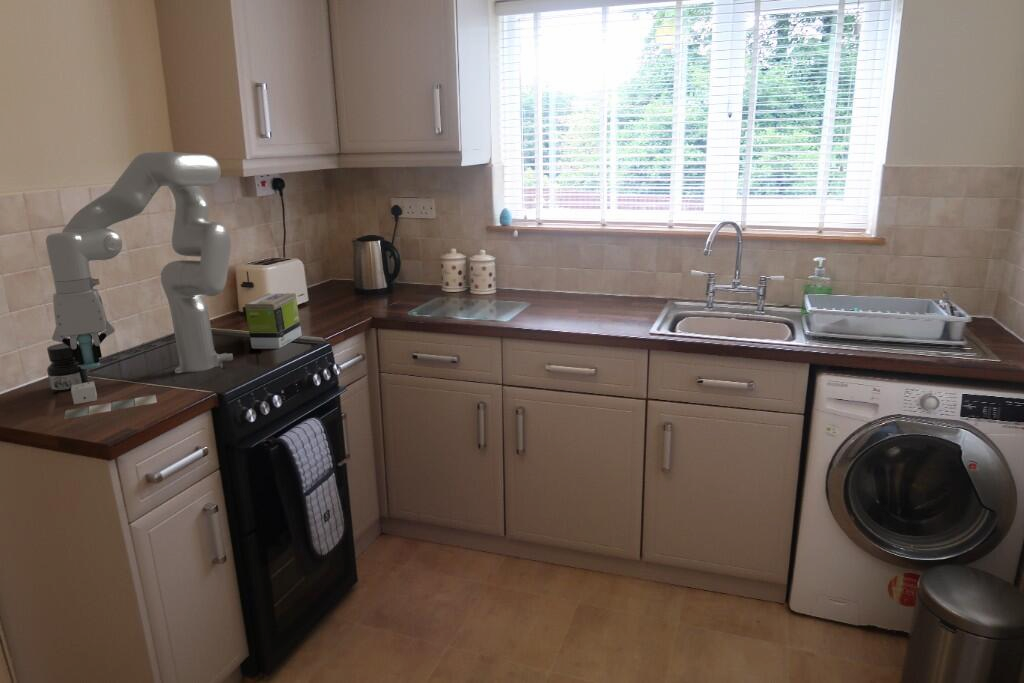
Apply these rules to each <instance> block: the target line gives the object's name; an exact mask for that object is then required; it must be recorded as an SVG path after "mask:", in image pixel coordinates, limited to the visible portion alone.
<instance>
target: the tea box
mask: <svg viewBox="0 0 1024 683" xmlns="http://www.w3.org/2000/svg"><path fill="white" fill-rule="evenodd" d="M244 307H245V309H244V310H245V314H246V322H247V326H248V333H249V338H250V344H251V348H252V349H260V350H261V349H264V350H265V349H267V350H272V349H273V350H275V349H276V350H277V349H281V348H283V347H285V346H287V345H288V344H289V343H292V342H293V341H295V340H297V339H298V338H300V337H302V335H303V334H302V326H301V321H300V313H299V306H298V300H297V295H296V293H295V292H294V293H289V292H288V293H285V292H284V293H267V294H265V295H263V296H260V297H257V298H256V299H253V300H252V301H248V302H247V303H245V304H244Z"/></svg>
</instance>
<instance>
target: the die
mask: <svg viewBox="0 0 1024 683" xmlns="http://www.w3.org/2000/svg"><path fill="white" fill-rule="evenodd" d="M70 393H71V396H72V401H73V404H74V405H79V404H84V403H89V402H94V401H98V393H97V389H96V385H95V381H94V380H93V381H89V382H87V383H81V384H75V385H71V391H70Z"/></svg>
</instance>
